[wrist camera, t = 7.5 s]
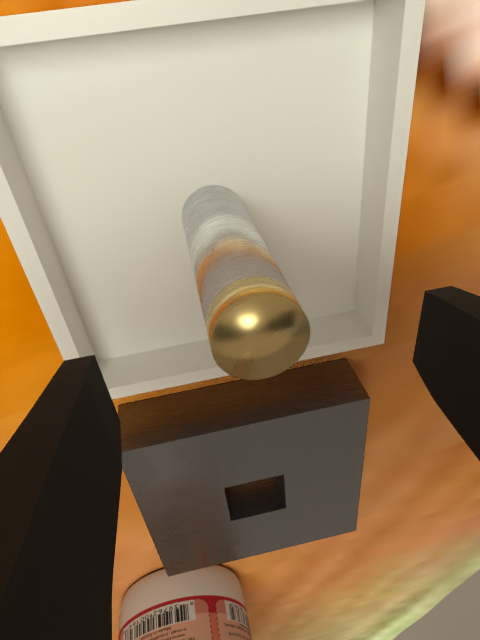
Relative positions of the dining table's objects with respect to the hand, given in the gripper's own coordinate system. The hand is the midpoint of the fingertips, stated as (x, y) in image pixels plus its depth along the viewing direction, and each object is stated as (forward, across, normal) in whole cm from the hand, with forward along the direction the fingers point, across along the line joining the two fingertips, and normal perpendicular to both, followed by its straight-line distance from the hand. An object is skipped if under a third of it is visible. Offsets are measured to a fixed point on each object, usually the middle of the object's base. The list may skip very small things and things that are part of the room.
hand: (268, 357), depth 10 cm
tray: (+9, 0, 0) cm, 9 cm away
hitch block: (+9, 0, +16) cm, 18 cm away
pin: (+9, 0, 0) cm, 9 cm away
